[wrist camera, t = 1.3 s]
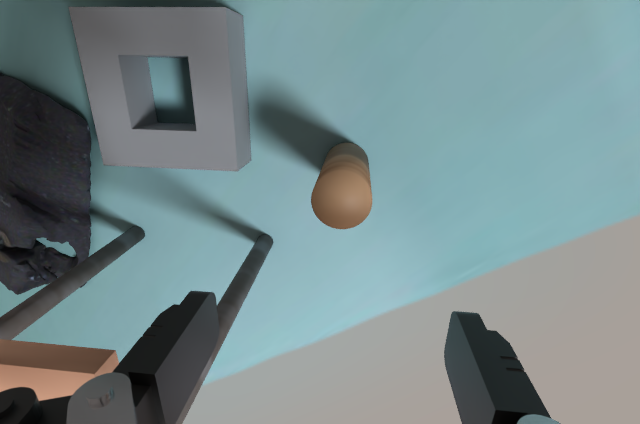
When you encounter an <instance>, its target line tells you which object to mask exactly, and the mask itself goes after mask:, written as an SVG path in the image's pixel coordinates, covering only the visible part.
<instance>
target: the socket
mask: <svg viewBox="0 0 640 424" xmlns="http://www.w3.org/2000/svg"><path fill="white" fill-rule="evenodd" d="M69 11H70V16H71V20H72V25H73V29H74V34H75V38H76V43H77V47H78V52H79V56H80V61H81V65H82V70H83V74H84V79H85V83H86V88H87V92H88V97H89V101H90V106H91V110H92V115H93V119H94V124H95V128H96V133H97V137H98V142H99V146H100V151H101V155H102V160H103V164H104V165H110V166H132V167H154V168H176V169H197V170H219V171H239V170H240V169H241V168H242V167H244V166H245V165H246V164H247V163H249V162H250V161H251V145H250V128H249V111H248V93H247V76H246V59H245V42H244V25H243V16H242V15H240V14H238V13H236V12H234V11H232V10H230V9H228V8H226V7H69ZM147 57H174V58H188V61H189V70H190V78H191V87H192V96H193V104H194V113H195V122H196V124H183V123H158V122H157V116H156V110H155V103H154V97H153V90H152V84H151V77H150V71H149V65H148V58H147Z"/></svg>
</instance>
